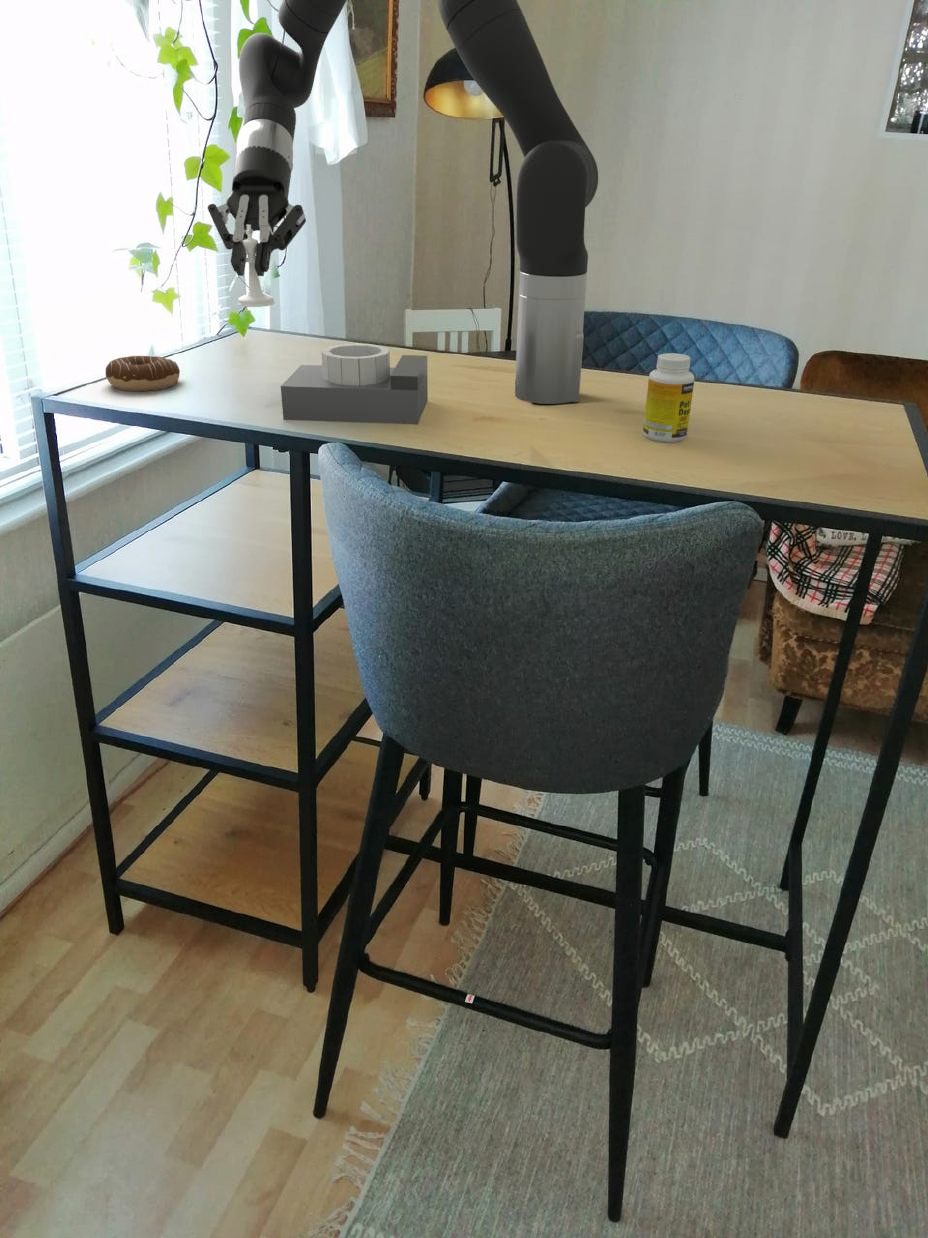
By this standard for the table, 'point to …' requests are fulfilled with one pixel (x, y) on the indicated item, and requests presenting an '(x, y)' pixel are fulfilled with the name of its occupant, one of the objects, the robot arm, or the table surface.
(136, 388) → the donut
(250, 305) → the chess piece
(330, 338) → the table surface
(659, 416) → the supplement bottle
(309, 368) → the camera body
